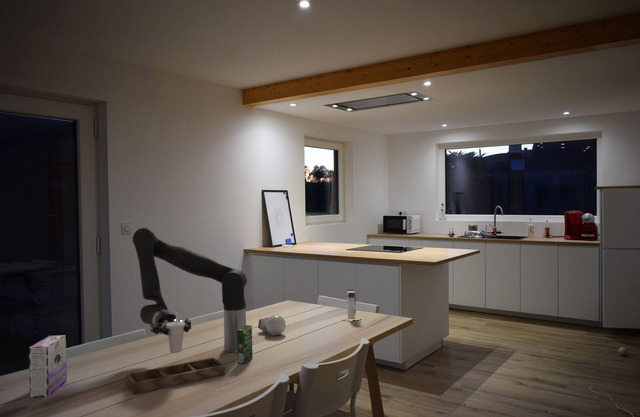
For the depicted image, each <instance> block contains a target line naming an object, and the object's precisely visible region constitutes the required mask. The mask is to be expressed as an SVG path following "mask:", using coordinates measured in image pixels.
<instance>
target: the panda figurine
mask: <svg viewBox="0 0 640 417" xmlns="http://www.w3.org/2000/svg"><path fill="white" fill-rule="evenodd" d="M346 300H347V301H346V304H347V316H348V319H355V316H356V313H357V312H356V306H357V305H356V304H357V303H356V301H357V300H356V292H355V290H354V289H350V288H349V289H348V288H347V291H346Z"/></svg>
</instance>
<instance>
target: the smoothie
mask: <svg viewBox="0 0 640 417" xmlns="http://www.w3.org/2000/svg"><path fill="white" fill-rule="evenodd" d="M175 316H176V322H170V323H167V324H166V328H168V335H167V337H168V344H169V350H170V351H169V352H170V353H172V354H177V353H181V352H182V350H183V340H184V333H185V331H184V326H185V323H184V322H178V320H179V317H178V316H179V313H178V311H175Z"/></svg>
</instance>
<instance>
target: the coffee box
mask: <svg viewBox="0 0 640 417" xmlns="http://www.w3.org/2000/svg"><path fill="white" fill-rule="evenodd" d="M237 343H238V352H237V364H238V365H245V364H246V363H247V362H249V361H250V360H251V359H253V326H252V325H250V324H249V325H247V324H246V326H244V327H242V328H241V329H239V330H237Z"/></svg>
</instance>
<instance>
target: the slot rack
mask: <svg viewBox="0 0 640 417" xmlns="http://www.w3.org/2000/svg"><path fill="white" fill-rule="evenodd" d="M225 367H226V366H225V364H224V363H222V362H221V361H219V360H218V359H216V358H215V357H209V358H205V359H198V360H193V361H189V362H184V363H183V362H182V363H178V364H174V365H168V366H163V367H158V368H152V369H145V370H141V371H137V372H136V371H135V372H129V373H126V378H125V379H126V386H127V387H128V389H129V391H130V392H131V393H132V395H134V396H135V395H139V394H143V393H144V394H145V393H148V392H152V391H156V390H162V389H167V388H171V387H176V386H180V385H181V386H182V385H184V384H190V383H194V382H199V381H204V380H208V379H213V378H217V377H222V376H225V375H226V369H225Z"/></svg>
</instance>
